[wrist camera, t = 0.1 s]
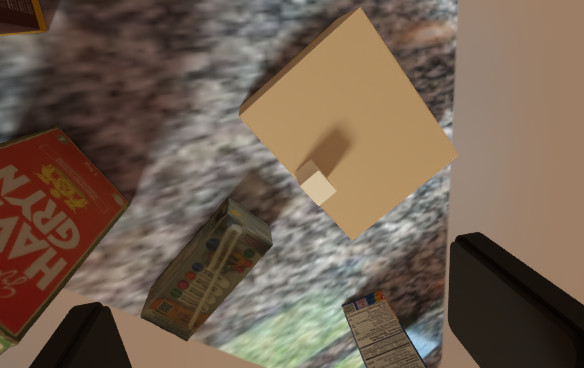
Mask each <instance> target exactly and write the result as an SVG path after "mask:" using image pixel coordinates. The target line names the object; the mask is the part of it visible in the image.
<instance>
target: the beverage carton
mask: <svg viewBox="0 0 584 368" xmlns="http://www.w3.org/2000/svg"><path fill="white" fill-rule="evenodd" d="M272 246H273V243H272V238H271V231H270V229H269V225H268V224H266V223H265V222H263V221H262V220H260V219H259V218H257V217H256V216H254V215H253V214H252V213H250V212H249V211H248V210H246V209H245V208H244V207H242V206H241V205H239V204H238V203H237V202H236V201H234V200H233V199H231V198H230V197H228V198H227V199H226V201H225V202H224V203H223V204H222V205H221V206H220V208H219V209H218V210H217V211H216V213H215V214H214V215H213V216H212V217H211V218H210V220H209V221H208V222H207V223H206V224H205V225H204V226H203V228H202V229H201V230H200V231H199V232H198V234H197V235H196V236H195V237H194V238H193V239H192V240H191V242H190V243H189V244H188V245H187V246H186V247H185V248H184V250H183V251H182V252H181V253H180V254H179V255H178V257H177V258H176V259H175V260H174V261H173V262H172V264H171V265H170V266H169V267H168V268H167V270H166V271H165V272H164V273H163V274H162V276H161V277H160V278H159V279H158V281H157V282H156V283H155V284H154V286H153V287H152V288H151V289H150V291H149V294H148V297H147V299H146V302H145V305H144V307H143V310H142V313H141V318H142V319H144V320H146V321H149V322H151V323H153V324H155V325H157V326H159V327H160V328H161V329H164V330H166V331H168V332H170V333H173V334H175V335H176V336H178V337H180V338H181V339H183V340H185V341H188V339H189V338H190V337H191V336H192V335H193V334H194V333H195V332H196V331H197V330H198V329H199V327H200V326H201V325H202V324H203V323H204V322H205V321H206V320H207V319H208V317H209V316H210V315H211V314H212V313H213V312H214V311H215V310H216V309H217V308H218V306H219V305H220V304H221V303H222V302H223V301H224V300H225V299H226V297H227V296H228V295H229V294H230V293H231V292H232V291H233V290H234V289H235V287H236V286H237V285H238V284H239V283H240V282H241V280H242V279H243V278H244V277H245V276H246V275H247V274H248V273H249V271H250V270H251V269H252V268H253V267H254V266H255V265H256V263H257V262H258V261H259V259H260V258H261V257H263V256H264V255H265V253H266V252H267V251H268V250H269V249H270V248H271V247H272Z"/></svg>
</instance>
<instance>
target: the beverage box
mask: <svg viewBox="0 0 584 368" xmlns="http://www.w3.org/2000/svg"><path fill="white" fill-rule="evenodd" d="M341 306H342V309H343V311H344V314H345V316H346V319H347V321H348V324H349V326H350V329H351V331H352V334H353V336H354V339H355V341H356V344H357V347H358V349H359V352H360V354H361V357H362V359H363V361H364V364H365V366H366V368H427V366H426V365H425V363H424V361H423V360H422V358H421V356H420V355H419V353H418V351H417V350H416V348H415V346H414V345H413V343H412V341H411V340H410V338H409V336H408V335H407V333H406V331H405V330H404V328H403V326H402V325H401V323H400V322H399V320H398V318H397V317H396V315H395V313H394V312H393V310H392V308H391V307H390V305H389V303H388V302H387V300H386V298H385V297H384V295H383V293H382V292H381V290H379V291H376V292H374V293H371V294H369V295H366V296H364V297H361V298H359V299H356V300H354V301H351V302H349V303H346V304H344V305H341Z"/></svg>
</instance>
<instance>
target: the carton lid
mask: <svg viewBox="0 0 584 368" xmlns="http://www.w3.org/2000/svg"><path fill="white" fill-rule="evenodd" d="M239 117H240V118H241V119H242V121H243V122H244V123H245V124H246V125H247V126H248V127H249V128H250V129H251V130H252V131H253V133H254V134H255V135H256V136H257V137H258V138H259V139H260V140H261V141H262V142H263V144H264V145H265V146H266V147H267V148H268V149H269V150H270V151H271V152H272V153H273V154H274V156H275V157H276V158H277V159H278V160H279V161H280V162H281V163H282V164H283V165H284V166H285V168H286V169H287V170H288V171H289V172H290V173H291V174H292V175H293V176H294V177H295V179H296V180H297V181H298V183H299V185H300V187H301V188H302V189H303V190H304V191H305V192H306V193H307V194H308V195H309V196H310V197H311V199H312V200H313V201H314V202H315V203H316V204H317V205H318V206H321V207H322V208H323V209H324V210H325V211H326V212H327V214H328V215H329V216H330V217H331V218H332V219H333V220H334V221H335V222H336V223H337V225H338V226H339V227H340V228H341V229H342V230H343V231H344V232H345V233H346V234H347V235H348V237H349V238H350V239H351V240H352V241H353V240H354V239H355V238H357V237H358V236H359V235H360V234H362V233H363V232H364V231H365V230H367V229H368V228H369V227H370V226H372V225H373V224H374V223H375V222H377V221H378V220H379V219H380V218H382V217H383V216H384V215H385V214H387V213H388V212H389V211H390V210H392V209H393V208H394V207H395V206H396V205H398V204H399V203H400V202H401V201H403V200H404V199H405V198H406V197H408V196H409V195H410V194H411V193H413V192H414V191H415V190H416V189H418V188H419V187H420V186H421V185H423V184H424V183H425V182H426V181H428V180H429V179H430V178H431V177H433V176H434V175H435V174H436V173H438V172H439V171H440V170H441V169H443V168H444V167H445V166H446V165H448V164H449V163H450V162H451V161H453V160H454V159H455V158H456V157H457V156H459V154H458V153H457V151H456V149H455V148H454V146H453V145H452V143H451V142H450V140H449V139H448V137H447V136H446V134H445V133H444V131H443V130H442V128H441V127H440V126H439V124H438V123H437V121H436V120H435V118H434V117H433V115H432V114H431V112H430V111H429V109H428V108H427V106H426V105H425V103H424V102H423V100H422V99H421V97H420V96H419V94H418V93H417V91H416V90H415V88H414V87H413V85H412V84H411V82H410V81H409V79H408V78H407V76H406V75H405V73H404V72H403V70H402V69H401V67H400V66H399V64H398V63H397V61H396V60H395V58H394V57H393V55H392V54H391V52H390V51H389V49H388V48H387V46H386V45H385V43H384V42H383V40H382V39H381V37H380V36H379V34H378V33H377V31H376V30H375V28H374V27H373V25H372V24H371V22H370V21H369V19H368V18H367V16H366V15H365V13H364V12H363V10H362V9H361V7H359V8H358V9H357V10H355V11H354V12H353V13H352V14H351V15H350V16H349V17H348V18H347V19H345V20H344V21H343V22H342V23H341V24H340V25H339V26H338V27H337V28H336V29H334V30H333V31H332V32H331V33H330V34H329V35H328V36H327V37H326V38H324V39H323V40H322V41H321V42H320V43H319V44H318V45H317V46H316V47H314V48H313V49H312V50H311V51H310V52H309V53H308V54H307V55H306V56H305V57H303V58H302V59H301V60H300V61H299V62H298V63H297V64H296V65H295V66H293V67H292V68H291V69H290V70H289V71H288V72H287V73H286V74H285V75H284V76H282V77H281V78H280V79H279V80H278V81H277V82H276V83H275V84H274V85H272V86H271V87H270V88H269V89H268V90H267V91H266V92H265V93H264V94H262V95H261V96H260V97H259V98H258V99H257V100H256V101H255V102H254V103H253V104H251V105H250V106H249V107H248V108H247V109H246V110H245V111H244V112H243V113H241V114H240V115H239Z"/></svg>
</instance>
